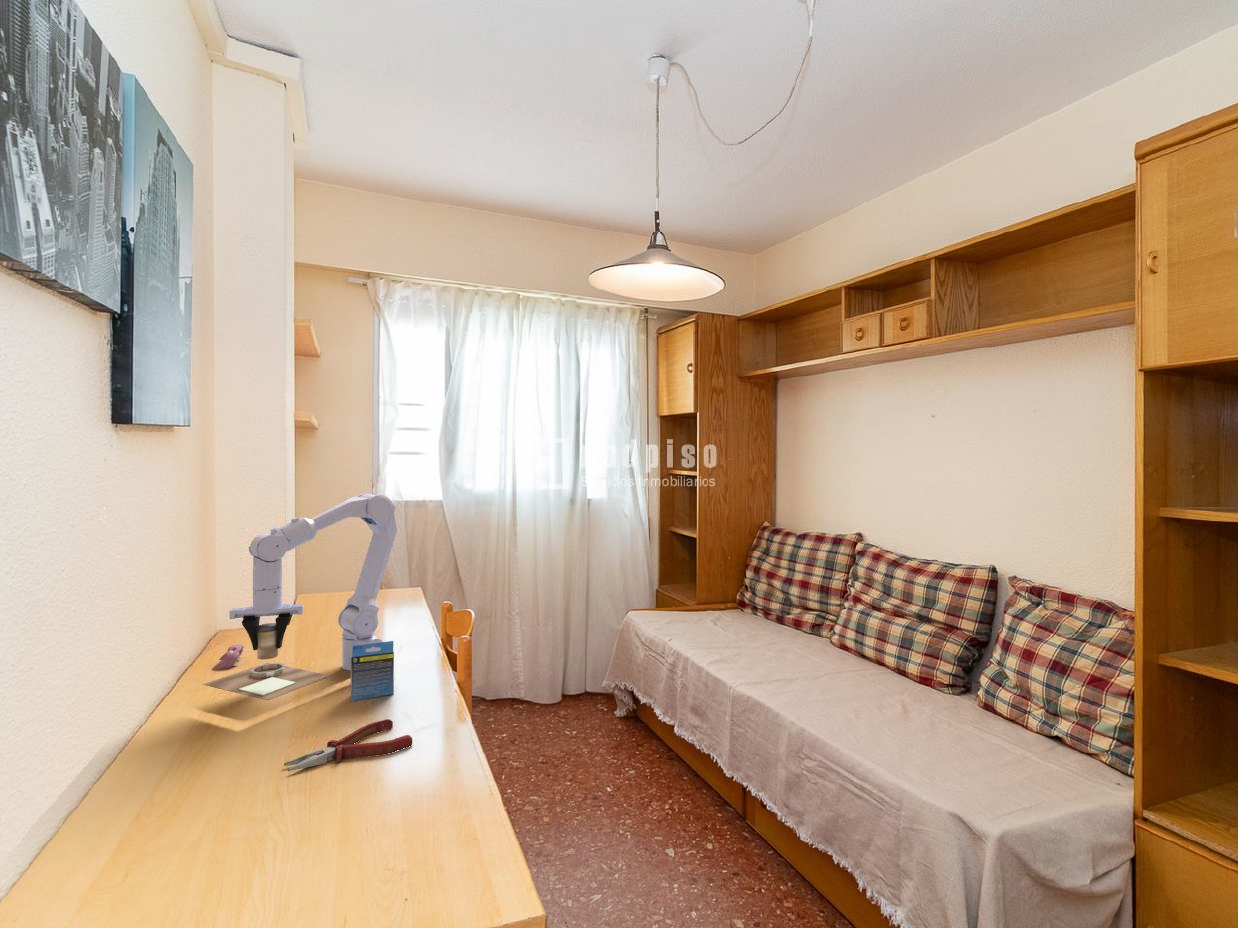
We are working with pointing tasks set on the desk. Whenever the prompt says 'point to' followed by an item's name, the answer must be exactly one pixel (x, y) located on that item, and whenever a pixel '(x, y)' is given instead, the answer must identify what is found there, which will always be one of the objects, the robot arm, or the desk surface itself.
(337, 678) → the desk surface
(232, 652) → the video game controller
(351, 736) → the pliers
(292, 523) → the robot arm
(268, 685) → the sage pad
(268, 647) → the beech pin
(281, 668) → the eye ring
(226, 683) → the walnut board
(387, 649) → the label tape box
